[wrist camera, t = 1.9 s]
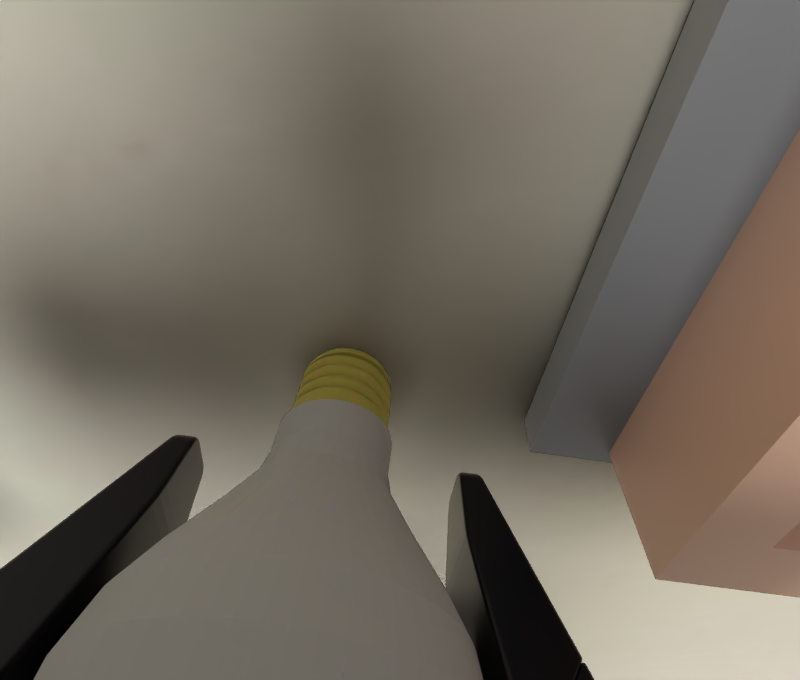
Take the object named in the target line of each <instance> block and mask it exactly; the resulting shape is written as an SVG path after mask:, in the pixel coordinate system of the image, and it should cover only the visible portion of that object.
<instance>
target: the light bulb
mask: <svg viewBox="0 0 800 680" xmlns="http://www.w3.org/2000/svg"><path fill="white" fill-rule="evenodd" d="M390 393H391V384H390V380H389V377H388V375H387V373H386V371H385V369H384V368H383V366H382V365H381V364H380V363H379V362H378V361H377V360H376V359H375V358H374V357H372V356H370V355H369V354H367V353H365V352H362V351H359V350H356V349H352V348H337V349H332V350H329V351H327V352H325V353H323V354H321V355H319V356H318V357H316V358H315V359H314V360H313V361H312V362H311V363H310V364H309V365H308V367H307V369H306V371H305V373H304V376H303V379H302V383H301V385H300V388H299V391H298V394H297V396H296V400H295V403H294V405H293V407H292V408H291V410H290V411H288V412H287V413H286V414H285V416H284V417H283V418H282V420H281V422H280V425H279V428H278V431H277V434H276V437H275V440H274V443H273V446H272V449H271V452H270V454H269V455H268V457H267V458H266V460H265V461H264V463H263V465H262V466H261V468H260V469H259V470H257V471H256V472H255V473H253V474H252V475H251V476H250V477H248V478H247V479H246V480H244V481H243V482H242V483H240V484H239V485H238V486H236V487H235V488H234V489H232V490H231V491H230V492H228V493H227V494H226V495H225V496H223V497H222V498H220V499H219V500H217V501H216V502H215V503H213V504H212V505H210V506H209V507H207V508H206V509H204V510H203V511H201V512H200V513H199V514H197V515H196V516H194V517H193V518H191V519H190V520H188V521H187V522H185V523H184V524H183V525H181V526H180V527H178V528H177V529H175V530H174V531H172V532H171V533H169V534H168V535H167V536H165V537H164V538H162V539H161V540H160V541H159V542H158V543H156V544H155V545H154V546H153V547H151V548H150V549H149V550H148V551H146V552H145V553H144V554H143V555H141V556H140V557H139V558H138V559H136V560H135V561H134V562H133V563H131V564H130V565H129V566H128V567H126V568H125V569H124V570H123V571H121V572H120V573H119V574H118V575H116V576H115V577H114V578H113V579H111V580H110V581H109V582H108V583H106V584H105V585H104V587H103V588H102V589H101V590H100V591H99V593H98V594H97V595H96V596H95V597H94V599H93V600H92V601H91V602H90V603H89V605H88V606H87V607H86V608H85V610H84V611H83V612H82V613H81V614H80V616H79V617H78V618H77V619H76V620H75V622H74V623H73V624H72V625H71V626H70V628H69V629H68V630H67V631H66V633H65V634H64V635H63V636H62V637H61V639H60V640H59V641H58V642H57V643H56V645H55V646H54V647H53V648H52V649H51V651H50V652H49V653H48V654H47V656H46V658H45V659H44V661H43V663H42V665H41V667H40V668H39V670H38V672H37V674H36V676H35V678H34V679H33V680H483V676H482V672H481V668H480V664H479V660H478V657H477V653H476V650H475V646H474V644H473V642H472V640H471V638H470V636H469V634H468V632H467V630H466V628H465V626H464V624H463V622H462V620H461V618H460V616H459V614H458V612H457V610H456V608H455V606H454V604H453V602H452V600H451V598H450V596H449V594H448V592H447V591H446V589H445V587H444V585H443V583H442V582H441V580H440V578H439V577H438V575H437V573H436V572H435V570H434V569H433V567H432V565H431V564H430V562H429V560H428V559H427V557H426V555H425V554H424V552H423V550H422V549H421V547H420V546H419V544H418V542H417V541H416V539H415V537H414V536H413V534H412V532H411V531H410V529H409V527H408V525H407V523H406V521H405V520H404V518H403V516H402V514H401V512H400V510H399V508H398V507H397V505H396V503H395V501H394V499H393V497H392V495H391V493H390V486H389V478H388V470H389V462H390V455H391V446H392V441H391V436H390V433H389V431H388V418H389V411H390V408H389V407H390V402H391V395H390Z"/></svg>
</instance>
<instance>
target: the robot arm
mask: <svg viewBox="0 0 800 680" xmlns="http://www.w3.org/2000/svg"><path fill="white" fill-rule="evenodd" d="M202 474H203V460H202V454H201V448H200V443H199V440H198V439H197V438H196V437H192V436H185V435H175V436H173V437H171V438H170V439H168V440H167V441H166V442H165V443H163V444H162V445H161V446H159V447H158V448H157V449H155V450H154V451H153V452H152V453H150V454H149V455H148V456H146V457H145V458H144V459H142V460H141V461H140V462H139V463H137V464H136V465H135V466H133V467H132V468H131V469H129V470H128V471H127V472H126V473H124V474H123V475H122V476H120V477H119V478H118V479H116V480H115V481H114V482H113V483H111V484H110V485H109V486H107V487H106V488H105V489H104V490H102V491H101V492H100V493H98V494H97V495H96V496H94V497H93V498H92V499H91V500H89V501H88V502H87V503H85V504H84V505H83V506H81V507H80V508H79V509H78V510H76V511H75V512H74V513H72V514H71V515H70V516H68V517H67V518H66V519H65V520H63V521H62V522H61V523H59V524H58V525H57V526H55V527H54V528H53V529H52V530H50V531H49V532H48V533H46V534H45V535H44V536H42V537H41V538H40V539H39V540H37V541H36V542H35V543H33V544H32V545H31V546H30V547H28V548H27V549H26V550H24V551H23V552H22V553H20V554H19V555H18V556H17V557H15V558H14V559H13V560H11V561H10V562H9V563H7V564H6V565H5V566H4V567H2V568H1V569H0V680H33V679H34V678H35V676H36V674H37V672H38V670H39V668H40V667H41V665H42V663H43V661H44V659H45V658H46V656H47V654H48V653H49V652H50V651H51V649H52V648H53V647H54V646H55V645H56V643H57V642H58V641H59V640H60V639H61V637H62V636H63V635H64V634H65V633H66V631H67V630H68V629H69V628H70V626H71V625H72V624H73V623H74V622H75V620H76V619H77V618H78V617H79V616H80V614H81V613H82V612H83V611H84V610H85V608H86V607H87V606H88V605H89V603H90V602H91V601H92V600H93V599H94V597H95V596H96V595H97V594H98V593H99V591H100V590H101V589H102V588H103V587H104V585H105V584H106V583H108V582H109V581H110V580H111V579H113V578H114V577H115V576H116V575H118V574H119V573H120V572H121V571H123V570H124V569H125V568H126V567H128V566H129V565H130V564H131V563H133V562H134V561H135V560H136V559H138V558H139V557H140V556H141V555H143V554H144V553H145V552H146V551H148V550H149V549H150V548H151V547H153V546H154V545H155V544H156V543H158V542H159V541H160V540H161V539H162V538H164V537H165V536H167V535H168V534H169V533H171V532H172V531H174V530H175V529H177V528H178V527H180V526H181V525H183V524H184V523H185V522H187V520H188V517H189V514H190V511H191V508H192V505H193V502H194V499H195V496H196V493H197V490H198V487H199V484H200V481H201V478H202ZM446 591H447V592H448V594H449V596H450V598H451V600H452V602H453V604H454V606H455V608H456V610H457V612H458V614H459V616H460V618H461V620H462V622H463V624H464V626H465V628H466V630H467V632H468V634H469V636H470V638H471V640H472V642H473V644H474V646H475V650H476V653H477V657H478V660H479V664H480V668H481V672H482V676H483V680H594V678H593V676H592V675H591V673H590V671H589V669H588V667H587V666H586V664H585V663H582V657H581V655H580V653H579V652H578V650H577V648H576V646H575V644H574V643H573V641H572V639H571V637H570V635H569V634H568V632H567V630H566V628H565V626H564V625H563V623H562V621H561V619H560V617H559V616H558V614H557V612H556V610H555V608H554V607H553V605H552V603H551V601H550V599H549V598H548V596H547V594H546V592H545V590H544V589H543V587H542V585H541V583H540V581H539V580H538V578H537V576H536V574H535V572H534V571H533V569H532V567H531V565H530V563H529V562H528V560H527V558H526V556H525V554H524V553H523V551H522V549H521V547H520V545H519V544H518V542H517V540H516V538H515V536H514V535H513V533H512V531H511V529H510V527H509V526H508V524H507V522H506V520H505V518H504V517H503V515H502V513H501V511H500V509H499V508H498V506H497V504H496V502H495V500H494V499H493V497H492V495H491V493H490V491H489V490H488V488H487V486H486V484H485V482H484V481H483V479H482V478H481V477H480V476H479V475H477V474H470V473H459V475H458V476H457V479H456V482H455V485H454V488H453V491H452V494H451V497H450V502H449V513H448V536H447V560H446Z"/></svg>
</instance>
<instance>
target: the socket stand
mask: <svg viewBox="0 0 800 680" xmlns="http://www.w3.org/2000/svg"><path fill="white" fill-rule="evenodd" d="M524 424H525V429H526V433H527V438H528V443H529V448H530V452H536V453H544V454H551V455H559V456H566V457H574V458H581V459H588V460H596V461H603V462H611V463H613V466H614V469H615V471H616V474H617V477H618V479H619V482H620V485H621V488H622V490H623V493H624V496H625V498H626V501H627V504H628V506H629V509H630V512H631V515H632V517H633V520H634V523H635V525H636V528H637V531H638V534H639V536H640V539H641V542H642V544H643V547H644V550H645V552H646V555H647V558H648V561H649V563H650V566H651V569H652V571H653V574H654V577H655V579H659V580H666V581H674V582H682V583H690V584H698V585H706V586H713V587H721V588H729V589H737V590H745V591H753V592H761V593H768V594H776V595H784V596H792V597H800V0H694V3H693V5H692V8H691V10H690V13H689V15H688V18H687V20H686V23H685V25H684V28H683V30H682V33H681V35H680V37H679V40H678V42H677V45H676V47H675V50H674V52H673V55H672V57H671V60H670V62H669V65H668V67H667V70H666V72H665V74H664V77H663V79H662V82H661V84H660V87H659V89H658V92H657V94H656V97H655V99H654V102H653V104H652V107H651V109H650V111H649V114H648V116H647V119H646V121H645V124H644V126H643V129H642V131H641V134H640V136H639V139H638V141H637V144H636V146H635V148H634V151H633V153H632V156H631V158H630V161H629V163H628V166H627V168H626V171H625V173H624V176H623V178H622V181H621V183H620V186H619V188H618V190H617V193H616V195H615V198H614V200H613V203H612V205H611V208H610V210H609V213H608V215H607V218H606V220H605V223H604V225H603V227H602V230H601V232H600V235H599V237H598V240H597V242H596V245H595V247H594V250H593V252H592V255H591V257H590V260H589V262H588V264H587V267H586V269H585V272H584V274H583V277H582V279H581V282H580V284H579V287H578V289H577V292H576V294H575V297H574V299H573V302H572V304H571V306H570V309H569V311H568V314H567V316H566V319H565V321H564V324H563V326H562V329H561V331H560V334H559V336H558V339H557V341H556V343H555V346H554V348H553V351H552V353H551V356H550V358H549V361H548V363H547V366H546V368H545V371H544V373H543V376H542V378H541V380H540V383H539V385H538V388H537V390H536V393H535V395H534V398H533V400H532V403H531V405H530V408H529V410H528V413H527V415H526V417H525V420H524Z"/></svg>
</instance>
